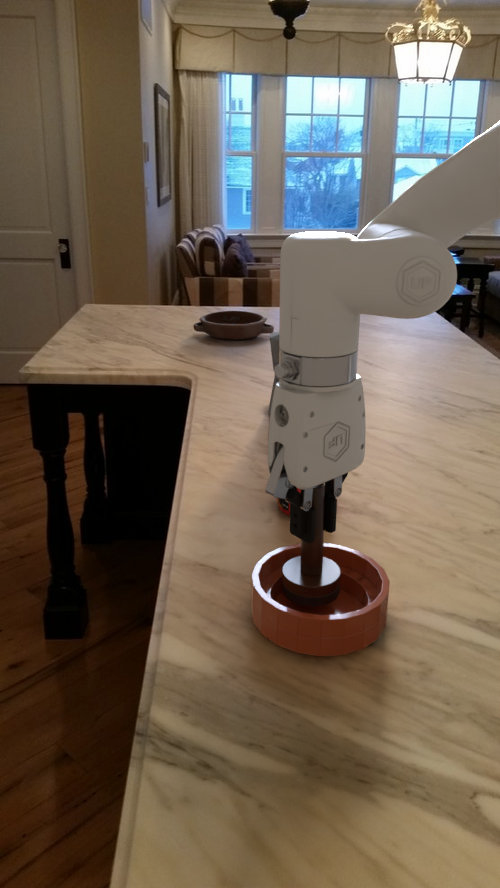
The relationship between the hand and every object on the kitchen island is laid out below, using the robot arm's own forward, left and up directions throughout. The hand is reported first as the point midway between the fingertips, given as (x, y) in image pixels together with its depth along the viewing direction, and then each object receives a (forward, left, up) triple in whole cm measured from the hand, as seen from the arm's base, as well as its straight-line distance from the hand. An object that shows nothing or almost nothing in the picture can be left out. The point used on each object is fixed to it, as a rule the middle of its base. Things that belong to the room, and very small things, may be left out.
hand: (312, 531), depth 75 cm
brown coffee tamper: (0, 0, -7) cm, 7 cm away
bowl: (0, +2, -10) cm, 10 cm away
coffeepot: (-43, -46, -10) cm, 64 cm away
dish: (-74, -101, -10) cm, 126 cm away
